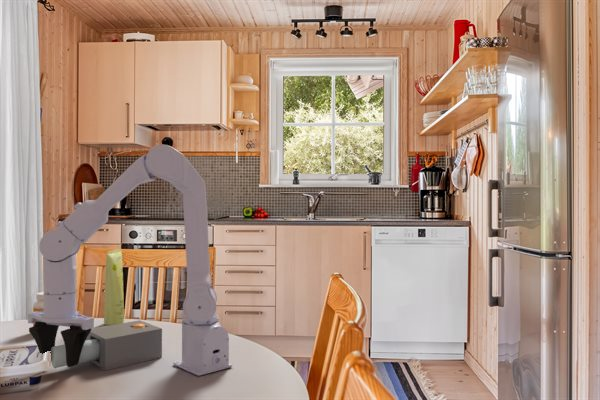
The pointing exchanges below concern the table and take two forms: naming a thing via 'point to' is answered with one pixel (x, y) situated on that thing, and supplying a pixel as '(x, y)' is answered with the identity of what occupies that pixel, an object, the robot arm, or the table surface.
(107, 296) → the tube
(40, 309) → the supplement bottle
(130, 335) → the housing
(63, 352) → the cylinder
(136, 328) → the plunger
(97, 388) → the table surface
